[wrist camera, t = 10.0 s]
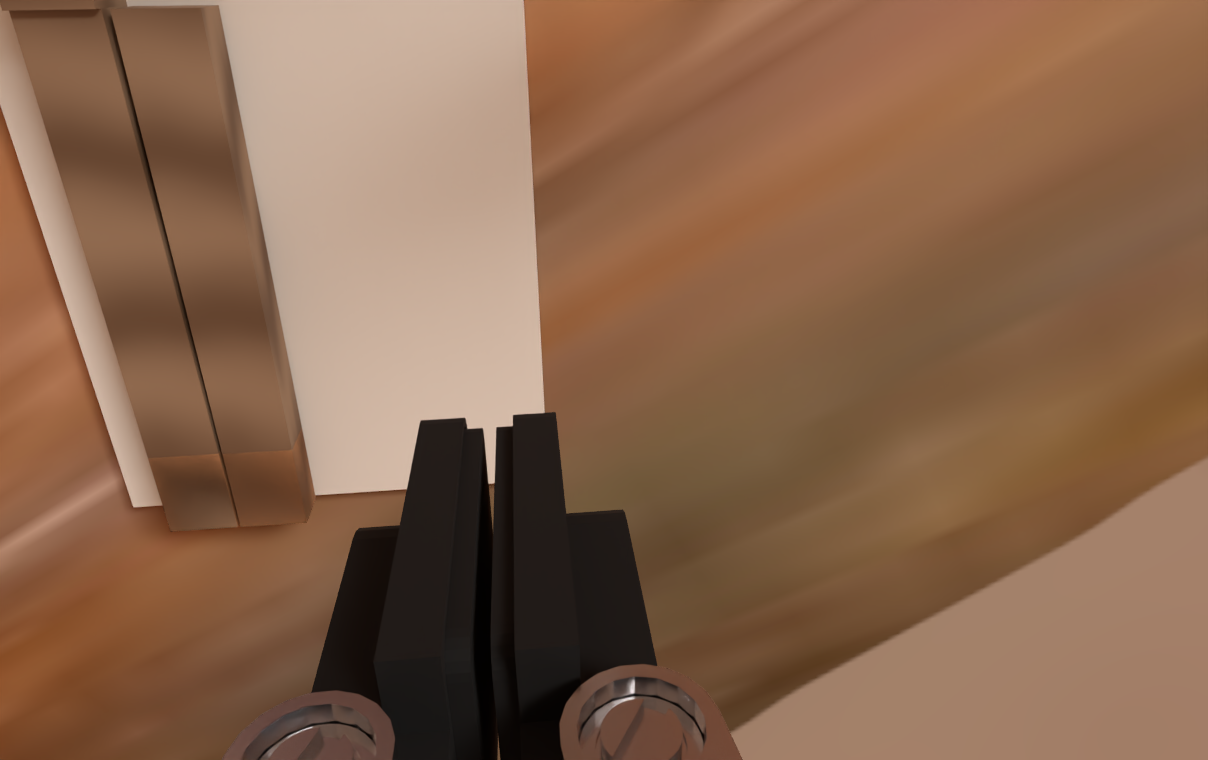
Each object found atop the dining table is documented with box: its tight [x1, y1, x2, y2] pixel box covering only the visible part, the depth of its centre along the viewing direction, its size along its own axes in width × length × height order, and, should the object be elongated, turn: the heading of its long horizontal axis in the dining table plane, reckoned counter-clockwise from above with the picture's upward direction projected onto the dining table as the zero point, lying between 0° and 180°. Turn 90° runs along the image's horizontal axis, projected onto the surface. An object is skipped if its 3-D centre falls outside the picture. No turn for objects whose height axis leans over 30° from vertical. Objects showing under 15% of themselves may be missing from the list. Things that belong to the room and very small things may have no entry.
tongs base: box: [0, 0, 240, 532], centre depth 33 cm, size 26×3×3 cm, turn 1°
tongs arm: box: [110, 5, 316, 527], centre depth 34 cm, size 22×3×2 cm, turn 0°
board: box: [0, 0, 544, 507], centre depth 35 cm, size 27×20×1 cm
